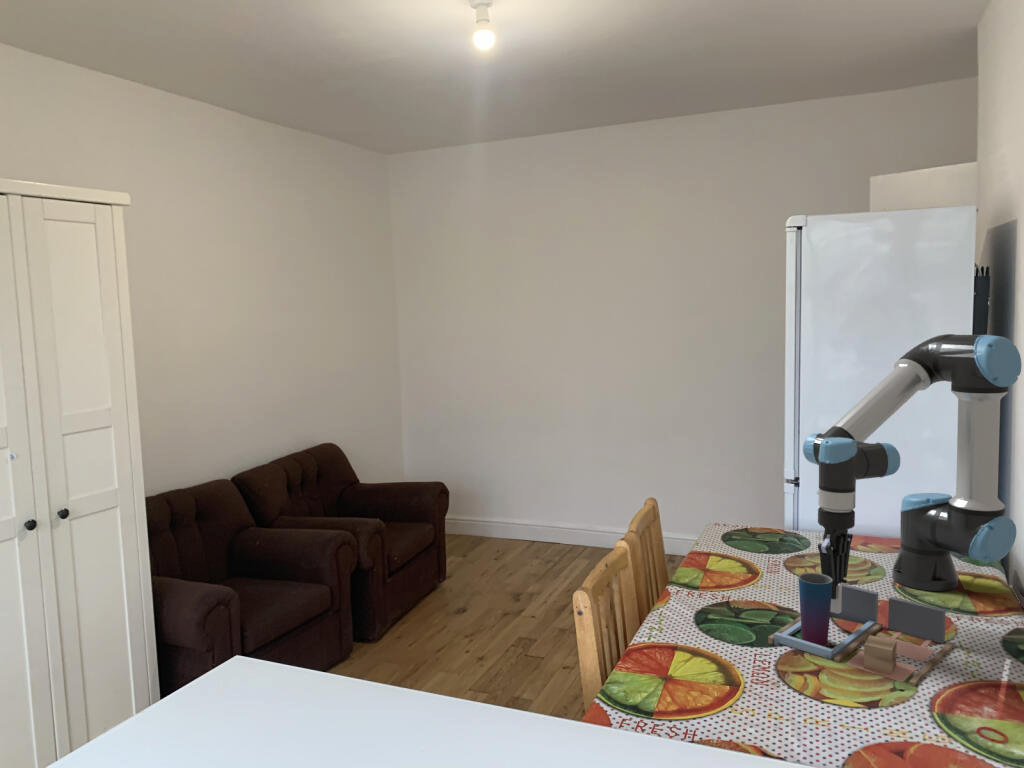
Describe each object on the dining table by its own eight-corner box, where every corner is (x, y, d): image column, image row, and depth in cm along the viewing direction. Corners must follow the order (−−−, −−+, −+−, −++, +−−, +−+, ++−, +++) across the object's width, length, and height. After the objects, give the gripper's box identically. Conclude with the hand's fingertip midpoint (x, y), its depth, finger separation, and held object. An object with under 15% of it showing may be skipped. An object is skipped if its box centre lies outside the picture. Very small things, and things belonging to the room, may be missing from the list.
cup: (834, 653, 160) (835, 584, 159) (800, 651, 162) (801, 583, 160) (828, 639, 167) (829, 573, 165) (795, 637, 168) (796, 572, 167)
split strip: (890, 631, 170) (891, 596, 170) (944, 645, 162) (945, 609, 162) (844, 668, 154) (845, 630, 153) (902, 687, 146) (903, 647, 145)
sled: (823, 611, 181) (823, 579, 180) (877, 626, 172) (878, 592, 172) (774, 645, 165) (774, 609, 164) (831, 663, 156) (831, 625, 155)
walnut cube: (869, 658, 156) (869, 635, 155) (896, 664, 153) (896, 640, 152) (863, 668, 152) (864, 644, 151) (891, 674, 149) (892, 650, 148)
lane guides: (815, 612, 181) (815, 606, 181) (953, 650, 160) (953, 643, 160) (768, 643, 166) (768, 636, 166) (914, 690, 144) (914, 682, 144)
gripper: (832, 499, 176) (829, 598, 178) (806, 510, 167) (804, 615, 169) (865, 505, 170) (862, 607, 172) (840, 517, 161) (838, 624, 163)
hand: (833, 611), depth 171 cm, fingers closed
